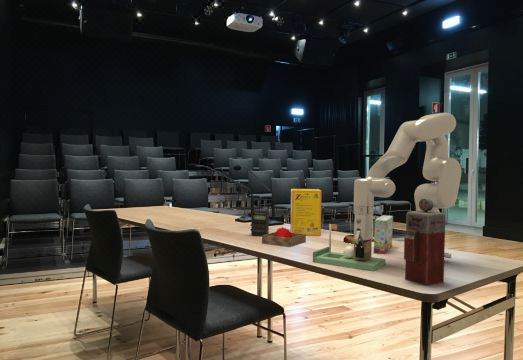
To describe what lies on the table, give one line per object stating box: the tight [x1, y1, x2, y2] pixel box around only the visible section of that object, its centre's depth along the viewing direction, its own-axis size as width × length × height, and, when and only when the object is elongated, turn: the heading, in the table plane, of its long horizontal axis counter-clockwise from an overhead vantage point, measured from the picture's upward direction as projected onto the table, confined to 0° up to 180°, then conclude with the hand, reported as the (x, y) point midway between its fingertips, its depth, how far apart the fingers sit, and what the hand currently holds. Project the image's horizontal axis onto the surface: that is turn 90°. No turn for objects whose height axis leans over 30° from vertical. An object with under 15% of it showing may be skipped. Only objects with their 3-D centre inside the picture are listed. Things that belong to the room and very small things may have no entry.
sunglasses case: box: [342, 234, 374, 245], centre depth 218 cm, size 18×7×7 cm
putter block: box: [353, 240, 373, 261], centre depth 166 cm, size 5×6×7 cm
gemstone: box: [275, 226, 292, 238], centre depth 211 cm, size 9×9×10 cm
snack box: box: [373, 214, 394, 255], centre depth 198 cm, size 21×6×15 cm, turn 155°
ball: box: [342, 245, 354, 258], centre depth 170 cm, size 5×5×5 cm
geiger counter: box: [250, 207, 270, 238], centre depth 232 cm, size 10×4×15 cm, turn 72°
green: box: [312, 223, 386, 272], centre depth 170 cm, size 25×14×14 cm, turn 56°
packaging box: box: [289, 188, 322, 237], centre depth 242 cm, size 16×16×25 cm
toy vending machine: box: [403, 198, 446, 286], centre depth 143 cm, size 9×11×28 cm
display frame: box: [261, 231, 307, 248], centre depth 213 cm, size 16×16×4 cm
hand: (362, 255), depth 167 cm, fingers closed on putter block, 6 cm apart
